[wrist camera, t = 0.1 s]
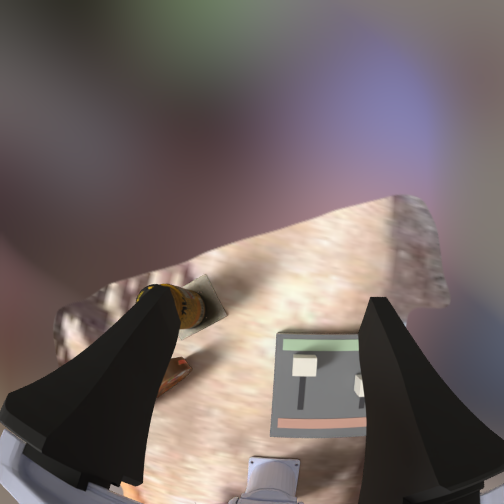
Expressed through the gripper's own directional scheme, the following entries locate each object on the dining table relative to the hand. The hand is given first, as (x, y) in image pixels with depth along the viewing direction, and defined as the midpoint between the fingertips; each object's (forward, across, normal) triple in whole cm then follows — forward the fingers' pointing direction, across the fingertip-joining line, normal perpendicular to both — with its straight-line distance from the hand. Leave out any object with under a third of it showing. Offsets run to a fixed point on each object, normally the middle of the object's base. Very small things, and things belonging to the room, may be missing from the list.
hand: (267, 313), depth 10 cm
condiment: (+22, +14, +24) cm, 35 cm away
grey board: (+13, -8, +31) cm, 35 cm away
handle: (+15, -3, +27) cm, 31 cm away
